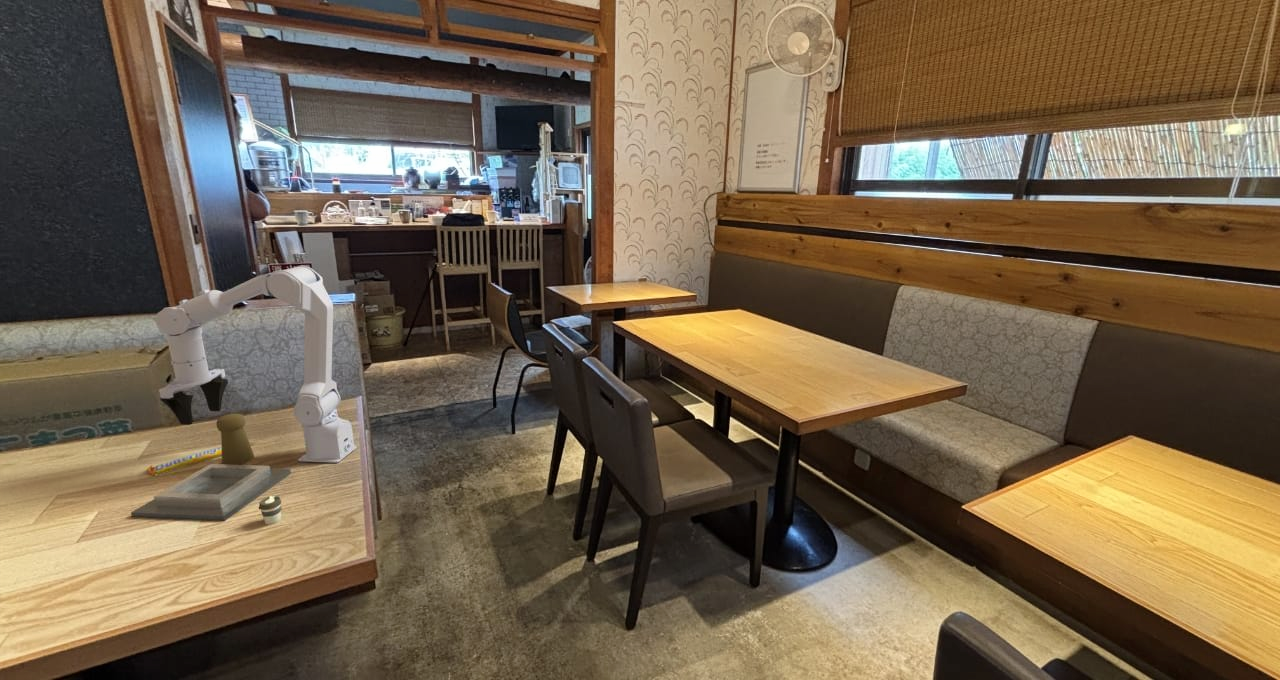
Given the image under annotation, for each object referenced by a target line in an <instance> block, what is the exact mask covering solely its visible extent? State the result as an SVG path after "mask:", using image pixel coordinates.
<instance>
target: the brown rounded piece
mask: <svg viewBox="0 0 1280 680" xmlns="http://www.w3.org/2000/svg"><path fill="white" fill-rule="evenodd" d="M215 424H216V428H217V430H218V431H219V432H220V434H221V435H220V439H221V441H220V442H221V447H222V456H221V464H229V465H245V464H246V463H249V462H250V461H253V460H254V458H255V455H254V451H253V449H252V446H251V443H250V441H249V439H248V435H247V433H246V431H245V428H244V427H245V426H246V418H245V416H244V415H243V414H241V413H229V414H224V415H222V416H220V417H219V418H218V419H217V421H216V423H215Z"/></svg>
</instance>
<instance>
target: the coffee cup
mask: <svg viewBox="0 0 1280 680" xmlns="http://www.w3.org/2000/svg"><path fill="white" fill-rule="evenodd" d="M258 509H259V510H260V512H261V515H262V518H263V520H264V523H265V525H267V526H270V525H275V524H277V523H279V522H280V521H281V520H282V499H281V497H280V496H278V495H276V494H275V495H273V496H271V495H269V496H267V497H265V498H263V499H261V500H260V502H259V506H258Z"/></svg>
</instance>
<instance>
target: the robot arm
mask: <svg viewBox="0 0 1280 680" xmlns="http://www.w3.org/2000/svg"><path fill="white" fill-rule="evenodd" d="M323 279H324V278H323V277H322V276H321V275H320V274H319V273H318V272H316V271H315V270H314V269H313V268H312V267H309V266H307V265H296V266H295V267H291V268H287V269H279V270H276V271H273V272H270V273H266V274H261V275H258V276H255V277H253V278H251V279H249V280H247V281H244V282H243V283H240V284H238V285H236V286H234V287H232V288H230V289H227V290H226V291H221V290H217V289H212V290H210V289H204V290H201V291H199V292H198V294H199V295H198V296H195V297H193V298H191V299H182V300H180V301H179V302H178V303H179V305H175V306H172V307H170V306H169V307H164V308H162V310H160V311H158V312H157V314H156V316H155V324H156V326H157V328H158V329H159V330H160V331H161V332H162V333H165V336H166V339H167V345H168V348H169V355H170V359H171V361H172V368H173V371H174V376H175V378H173V379H172V381H173V382H171V383H169V384H167V385H166V386H164V387H162V388H159V389H158V392H159V398H160V401H161V402H162V403H164V404H165V405H166V406H167V407H168V408H169V409H170V410H171V411H172V412H173V415H175V417H176V418H177V420H178V421H179V423H180V425H184V426H186V425H187V426H190V425H191V424H193V419H194V418H193V412H192V401H193V397H194V395H192V394H186V393H184V392H186V391H188V390H191V389H194V388H197V387H200V389H201V390H202V393H203V394H204V397H205V400H206V404H207V407H208V409H209V411H210V412H221V411H222V402H223V396H224V394H225V390H226V388H227V385H228V384H229V382H228V379H227V378H225V377H226V371H225V368H214V369H211V370H209V365H208V360H207V356H206V350H205V346H204V341H203V335H202V334H203V326H204V325H206V324H208V323H209V324H210V322H213V321H215V320H217V319H218V320H219V318H222V317H225V316H227V315H230V314H231V313H232V311H233V308H234V305H237V304H239V303H241V302H245V301H247V300H249V299H252V298H254V297H257V296H260V295H265V296H267V297H270V296H273V297H274V298H276V299H278V300H280V301H282V302H284V303H286V304H288V305H290V306H293V307H295V308H297V310H299V311H300V312H302V313H303V314H304V354H303V355H304V359H303V362H304V364H303V368H304V369H303V384H302V385H301V387H300V389H299V392H298V396H297V397H298V400H297V402H296V403H295V405H294V407H293V415H294V418H295V419H296V420H297V421H298V422H299V423H301V426H302V432H303V438H304V445H305V450H306V451H305V452H306V453H304V454H303V455H302V456H300V457H299V458H298V460H297V461H298V462H311V463H336V464H337V463H339V462H341V461H342V460H343V459H344V458H345V457H347V456H349V454H351V452H353V451H354V450H356V449H357V447H358V446H357V445H355V440H354V433H353V426H352V423H351V422H350V421H349V420H348V419H343V418H341V417H340V416H339V415H338V410H337V408H338V407H339V406H340V403H341V399H342V398H341V395H340V393H339V391H338V388H337V385H338V384H337V382H336V381H334V380H333V378H332V377H333V376H332V375H333V374H332V370H333V368H332V367H333V337H334V336H333V332H334V303H333V301H332V300H331V297H330V296H329V294H328V292H327V290H326V287H325V285H324V282H323V281H324V280H323Z"/></svg>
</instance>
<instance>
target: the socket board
mask: <svg viewBox="0 0 1280 680" xmlns="http://www.w3.org/2000/svg"><path fill="white" fill-rule="evenodd" d="M291 473H292V472H291V468H272V467H270V465H257V464H256V465H252V464H251V465H250V464H241V465H229V464H222V463H221V464H220V463H210V464H208V465H206V466H204V467H203V468H201V469H199V470H198V471H196V472H194V473H192V474H191V475H188V476H187V477H184V479H182V480H180V481H178V482H177V483H175V484H173V485H171V486H170V487H168V488H166V489H164V490H162V491H160V492H159V493H157V494H155V495H154V496H153V498H154V499H152V500H150V501H148V502H146V503H145V504H143V505H141V506H140V507H138V508H137V509H134V510H133V511H131V512H130V515H131V518H143V519H144V518H145V519H162V520H163V519H164V520H165V519H167V520H169V519H170V520H192V521H214V522H218V521H220V522H222V521H223V522H225V521H227V520H228V519H229V518H231V517H232V516H233V515H235V514H237V513H238V512H240V510H241V511H242V509H243V508H245V507H246V506H247V505H249V504H251V503H252V502H253V501H254V500H256V499H257V498H259V497H260V496H261V495H263V494H264V493H266V492H267V491H268V490H270V489H271V488H272V487H274V486H276V485H277V484H278V483H280V482H281V481H282V480H284V479H285V478H287V477H288V476H290V475H291Z"/></svg>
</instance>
